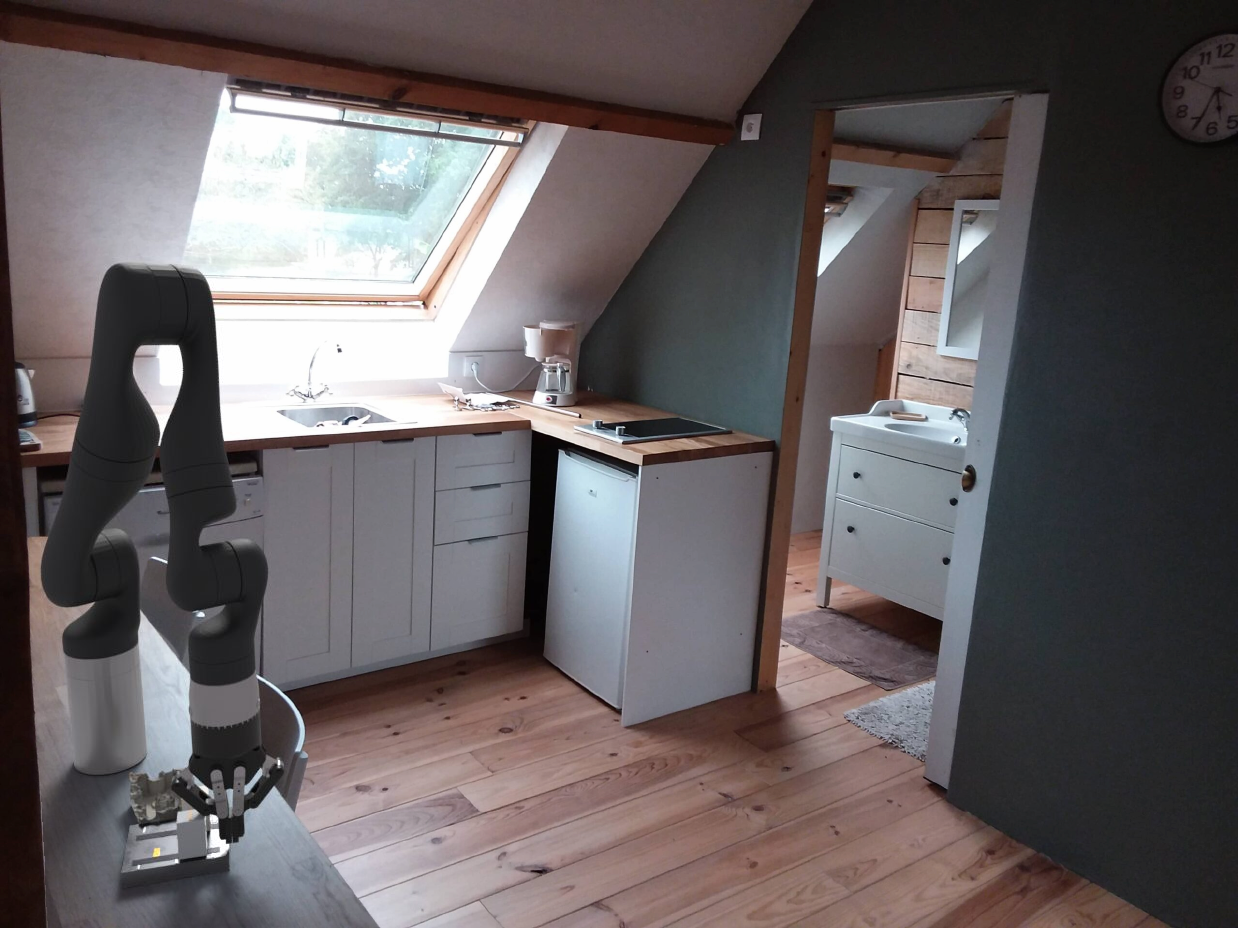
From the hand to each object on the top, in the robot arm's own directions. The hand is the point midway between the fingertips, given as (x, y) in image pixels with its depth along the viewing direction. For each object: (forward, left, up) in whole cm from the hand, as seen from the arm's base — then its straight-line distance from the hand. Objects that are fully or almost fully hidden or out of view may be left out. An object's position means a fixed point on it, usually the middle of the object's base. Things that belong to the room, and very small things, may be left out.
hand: (232, 839), depth 119 cm
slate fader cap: (0, -4, -1) cm, 4 cm away
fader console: (-3, -6, -3) cm, 7 cm away
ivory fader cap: (-5, -4, -1) cm, 6 cm away
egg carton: (-13, -8, -3) cm, 16 cm away
